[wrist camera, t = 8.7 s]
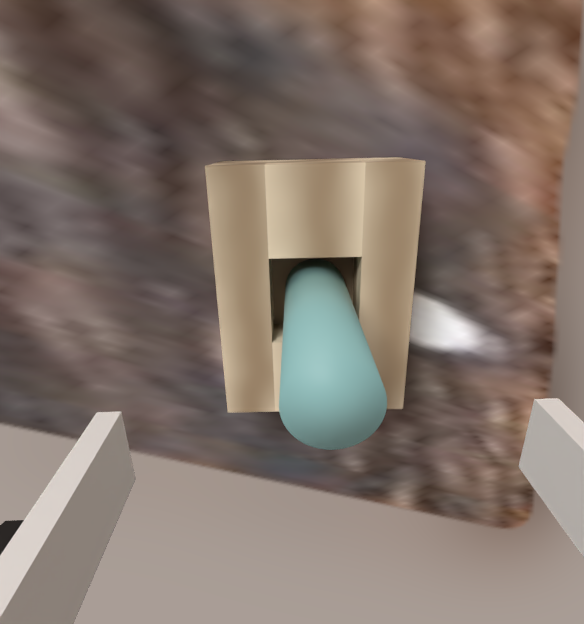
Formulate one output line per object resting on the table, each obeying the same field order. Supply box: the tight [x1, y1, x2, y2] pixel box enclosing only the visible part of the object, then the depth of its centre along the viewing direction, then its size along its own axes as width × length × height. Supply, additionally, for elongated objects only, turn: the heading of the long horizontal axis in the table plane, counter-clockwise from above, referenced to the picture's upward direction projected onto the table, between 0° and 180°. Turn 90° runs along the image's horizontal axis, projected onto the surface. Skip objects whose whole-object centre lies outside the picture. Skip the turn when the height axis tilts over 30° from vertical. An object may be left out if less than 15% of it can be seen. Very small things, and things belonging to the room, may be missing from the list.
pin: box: [279, 259, 387, 450], centre depth 22 cm, size 4×4×14 cm
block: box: [205, 157, 425, 412], centre depth 29 cm, size 12×16×6 cm
